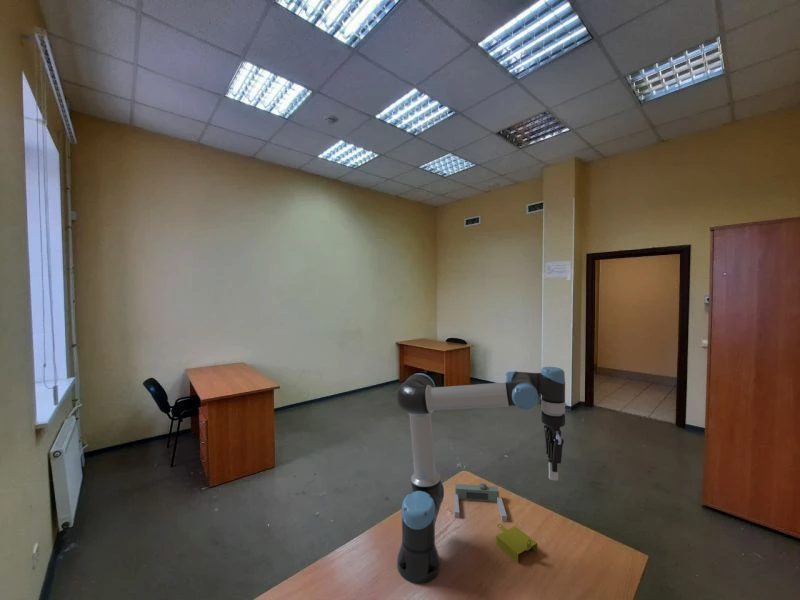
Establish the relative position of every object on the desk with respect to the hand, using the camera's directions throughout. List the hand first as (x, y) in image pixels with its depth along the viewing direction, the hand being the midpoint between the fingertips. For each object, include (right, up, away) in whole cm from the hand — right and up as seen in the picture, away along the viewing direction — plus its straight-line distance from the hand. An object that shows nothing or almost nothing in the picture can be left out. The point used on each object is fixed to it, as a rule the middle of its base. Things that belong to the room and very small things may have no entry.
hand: (553, 478), depth 115 cm
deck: (-18, -32, +35) cm, 51 cm away
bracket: (-14, -28, +18) cm, 37 cm away
